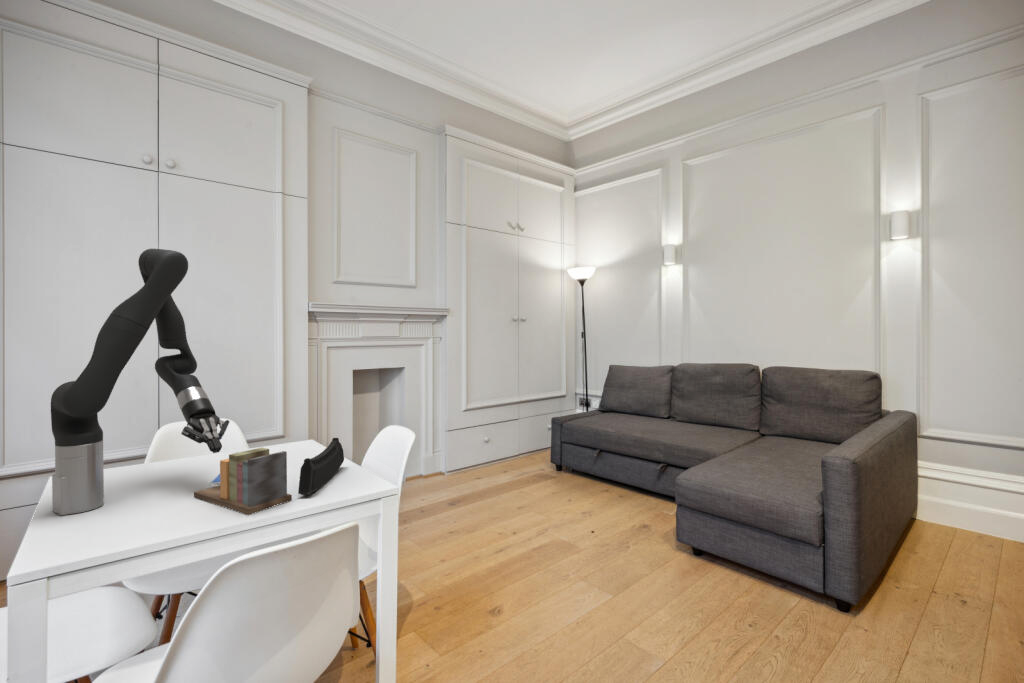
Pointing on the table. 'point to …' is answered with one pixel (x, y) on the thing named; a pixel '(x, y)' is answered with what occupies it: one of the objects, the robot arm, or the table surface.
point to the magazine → (320, 468)
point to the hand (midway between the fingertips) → (217, 450)
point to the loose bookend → (224, 479)
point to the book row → (252, 482)
